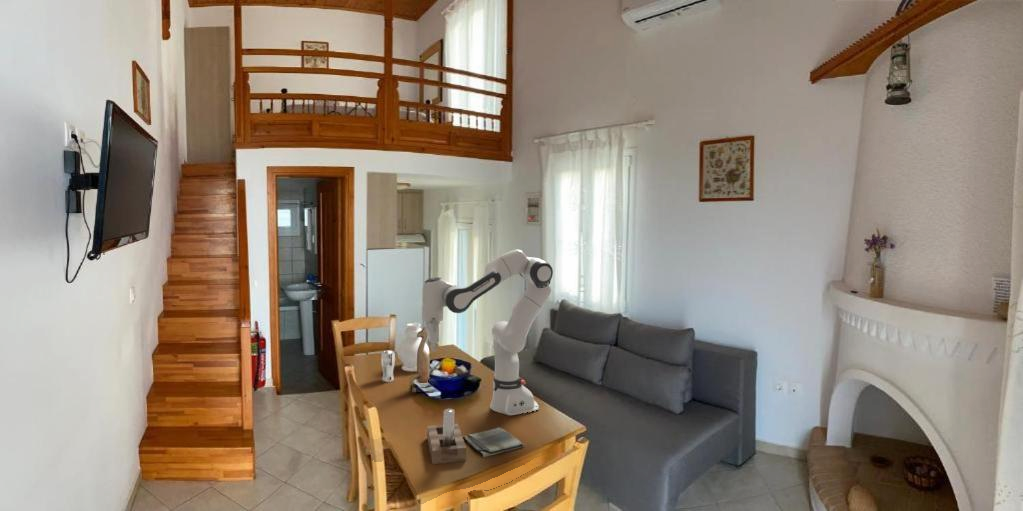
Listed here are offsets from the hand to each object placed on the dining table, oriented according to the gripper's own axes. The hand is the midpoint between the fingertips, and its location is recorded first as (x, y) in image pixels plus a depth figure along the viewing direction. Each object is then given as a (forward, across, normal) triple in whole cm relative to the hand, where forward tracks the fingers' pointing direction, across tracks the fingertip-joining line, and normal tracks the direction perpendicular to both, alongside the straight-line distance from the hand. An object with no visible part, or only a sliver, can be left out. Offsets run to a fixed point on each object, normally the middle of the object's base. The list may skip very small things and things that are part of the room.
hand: (431, 347), depth 208 cm
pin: (+30, -34, -3) cm, 45 cm away
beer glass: (+31, +50, +17) cm, 61 cm away
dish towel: (+32, -27, -21) cm, 47 cm away
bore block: (+31, -29, -3) cm, 43 cm away
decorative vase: (+31, +68, +3) cm, 75 cm away
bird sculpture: (+31, +35, 0) cm, 47 cm away
